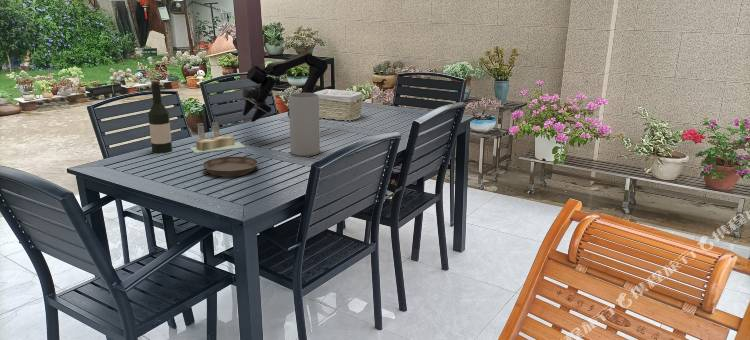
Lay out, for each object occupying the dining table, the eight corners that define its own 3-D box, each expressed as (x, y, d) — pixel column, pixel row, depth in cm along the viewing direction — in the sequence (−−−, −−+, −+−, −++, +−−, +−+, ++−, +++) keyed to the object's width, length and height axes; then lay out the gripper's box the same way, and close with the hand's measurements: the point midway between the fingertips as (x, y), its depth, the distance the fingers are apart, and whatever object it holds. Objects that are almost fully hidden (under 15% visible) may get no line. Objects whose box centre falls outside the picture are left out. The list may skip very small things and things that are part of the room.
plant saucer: (236, 160, 229) (235, 152, 228) (269, 170, 217) (268, 162, 216) (192, 171, 214) (191, 163, 213) (225, 182, 201) (224, 174, 200)
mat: (239, 142, 256) (239, 141, 256) (245, 147, 248) (245, 146, 247) (190, 148, 245) (190, 147, 245) (195, 153, 237) (195, 152, 237)
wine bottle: (165, 154, 236) (158, 83, 227) (148, 152, 238) (140, 82, 229) (176, 149, 244) (169, 80, 235) (159, 148, 245) (152, 79, 237)
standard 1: (204, 140, 260) (202, 123, 258) (205, 144, 253) (204, 126, 251) (198, 140, 259) (197, 123, 257) (199, 144, 252) (198, 127, 250)
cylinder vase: (314, 157, 234) (313, 98, 227) (286, 155, 236) (284, 96, 229) (323, 150, 246) (322, 93, 238) (296, 148, 248) (294, 92, 241)
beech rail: (234, 144, 251) (228, 142, 254) (234, 136, 250) (227, 135, 253) (202, 151, 240) (196, 148, 243) (201, 143, 239) (195, 141, 242)
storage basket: (363, 117, 315) (364, 91, 310) (350, 123, 300) (350, 95, 296) (326, 113, 324) (326, 88, 320) (312, 118, 310) (312, 92, 306)
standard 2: (218, 139, 262) (217, 122, 260) (220, 143, 255) (218, 126, 253) (213, 139, 261) (211, 122, 259) (214, 143, 254) (213, 126, 252)
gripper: (242, 75, 254) (225, 104, 254) (260, 86, 240) (241, 117, 241) (261, 86, 261) (244, 114, 262) (279, 97, 248) (261, 127, 248)
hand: (247, 118), depth 253 cm, fingers open, 9 cm apart
